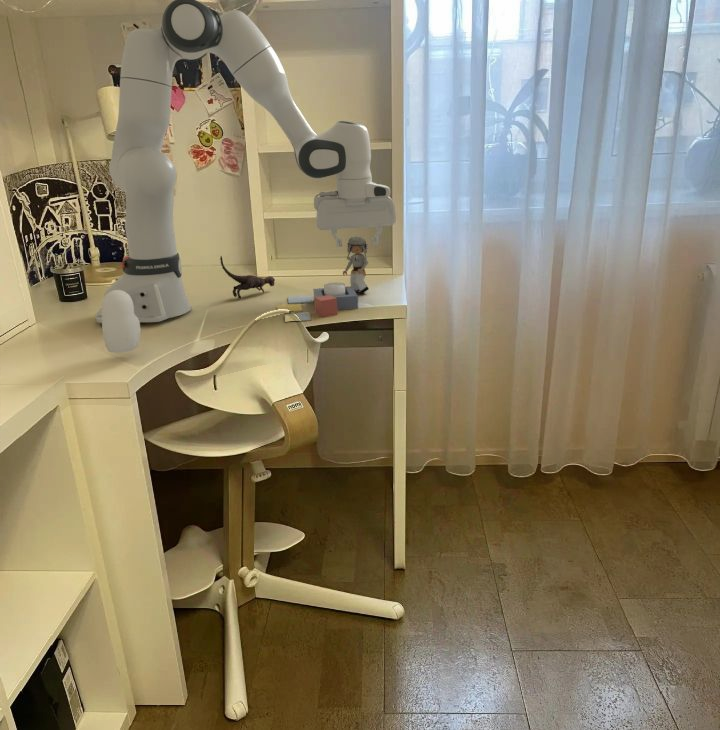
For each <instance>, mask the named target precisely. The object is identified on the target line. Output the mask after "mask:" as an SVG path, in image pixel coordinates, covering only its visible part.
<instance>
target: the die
mask: <svg viewBox="0 0 720 730" xmlns="http://www.w3.org/2000/svg"><path fill="white" fill-rule="evenodd" d="M314 301H315V302H314ZM313 302H314V312H315V314H316V315H317V316H319V317H321V318H325V317H330V316H337V315H338V309H337V298H335V297H333V296H331V295H325V296H319V297H314V296H313Z"/></svg>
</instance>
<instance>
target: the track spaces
mask: <svg viewBox="0 0 720 730" xmlns="http://www.w3.org/2000/svg"><path fill="white" fill-rule="evenodd" d="M287 301H288V305H289V304H311V303H313V302H314V300H313V298H312V296H311V295H300V296H299V295H297V296H288V297H287ZM295 313H296V315H297V316H298V317H299V319H300V320H301V321H300V322H310V321H312V319H311V315H310V312H295Z"/></svg>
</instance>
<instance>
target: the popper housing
mask: <svg viewBox="0 0 720 730" xmlns="http://www.w3.org/2000/svg"><path fill="white" fill-rule="evenodd" d="M319 296H325V295H324V287H323V288H321V287H320V288H313V298H314V297H319ZM333 297H335V298H337V310H347V309H350V310H351V309H358V308H359V301H358V297H359V296H358V293H356V292H355V290H354V289H353V287H352V286H351V285H350V286H345V295H336V296H333ZM313 302H314V303H315V301H314V300H313Z"/></svg>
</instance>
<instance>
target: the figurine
mask: <svg viewBox="0 0 720 730" xmlns="http://www.w3.org/2000/svg"><path fill="white" fill-rule="evenodd" d="M104 295H105V294H104ZM101 309H102V323H101V329H102V337H103V341H104V345H105V347H106V350H107V351H108V352H109V353H114V354H117V353H118V354H121V353H127V352H131V351H134V350H136V349H137V348H138V347H139V342H140V337H141V322H139V319H138V318H137V317H136V316H135V314H134V305H133V301H132V299H131V297H130V295H129V294H127V293H126V292H124V291H122V290H113V291H111V292H109V293H107V294H106V295H105V297H104V296H103V299H102V302H101Z"/></svg>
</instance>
